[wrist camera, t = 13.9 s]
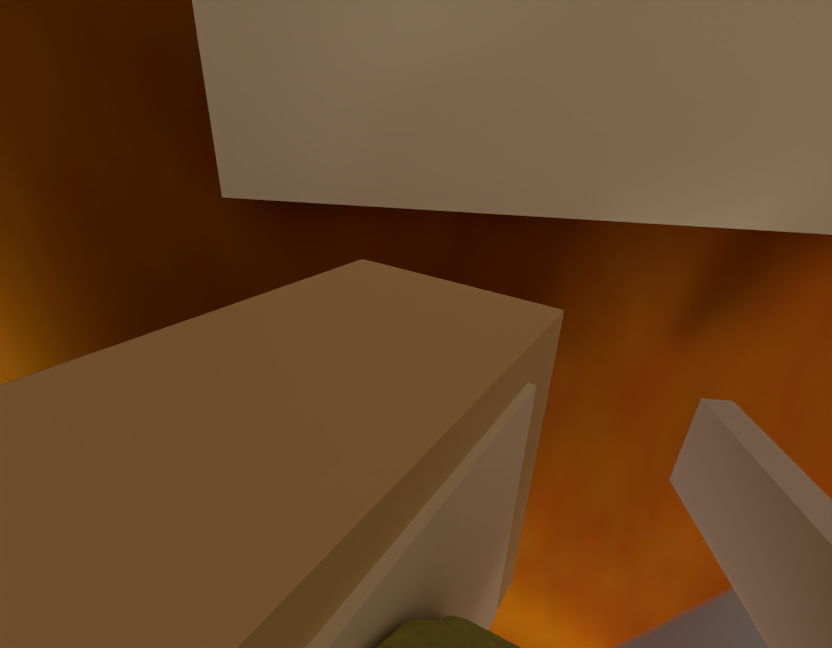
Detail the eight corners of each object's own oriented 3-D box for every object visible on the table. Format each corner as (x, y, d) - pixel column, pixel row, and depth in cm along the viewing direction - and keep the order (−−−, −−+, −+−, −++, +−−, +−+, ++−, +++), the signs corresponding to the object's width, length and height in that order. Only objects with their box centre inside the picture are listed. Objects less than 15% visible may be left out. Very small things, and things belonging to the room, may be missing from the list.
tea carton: (370, 492, 14) (93, 765, 8) (362, 259, 10) (-146, 435, 4) (517, 583, 11) (267, 1092, 5) (572, 312, 8) (17, 919, 2)
